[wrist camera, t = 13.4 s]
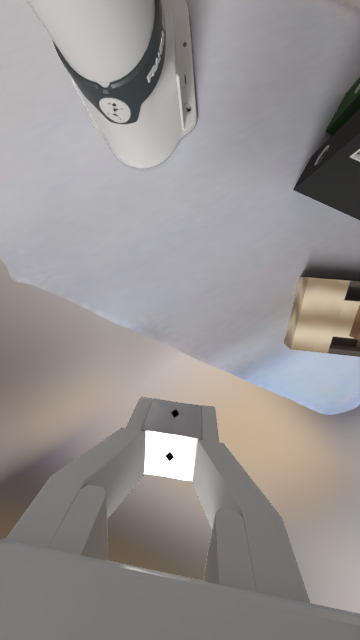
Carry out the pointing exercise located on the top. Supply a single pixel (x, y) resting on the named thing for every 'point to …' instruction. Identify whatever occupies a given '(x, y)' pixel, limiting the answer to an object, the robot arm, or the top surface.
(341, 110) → the binders
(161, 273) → the top surface
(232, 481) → the robot arm
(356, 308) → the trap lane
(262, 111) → the top surface
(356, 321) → the walnut block
